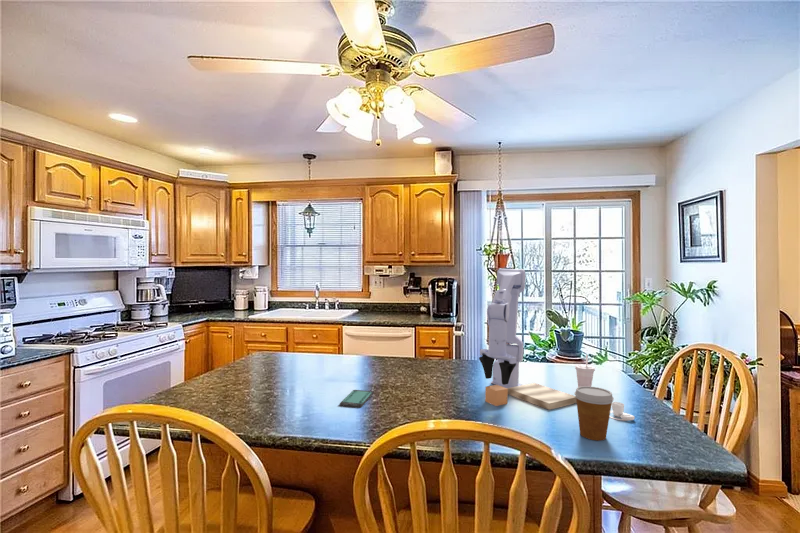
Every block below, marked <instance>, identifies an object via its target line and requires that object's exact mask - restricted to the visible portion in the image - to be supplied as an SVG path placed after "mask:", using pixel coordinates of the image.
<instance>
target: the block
mask: <svg viewBox="0 0 800 533" xmlns="http://www.w3.org/2000/svg"><path fill="white" fill-rule="evenodd" d="M484 393H485V396H484V398H485V399H484V400H485V402H486V403H488V404H490V405H492V406H495V407H499V406H503V405H507V404H508V396H509V394H508V389H507V388H504V387H502V386H499V385H496V384H492V385H489V386H485V392H484Z"/></svg>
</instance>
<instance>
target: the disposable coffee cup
mask: <svg viewBox="0 0 800 533" xmlns="http://www.w3.org/2000/svg"><path fill="white" fill-rule="evenodd" d="M574 396H576V400H577V403H576V409H577V416H578V417H577V419H578V428H579V434H580V435H581V437H583V438H585V439H588V440H592V441H604V440H606V439H607V432H608V428H609V421H610V418H609V416H611V413H610V411H612V406H611V404H612V403H613V402H614V400H615V399H614V397H613V393H612V392H611V391H610V390H608V389H605V388H602V387H596V386H591V387H590V386H582V387H578V386H577V387H576V389H575V392H574Z"/></svg>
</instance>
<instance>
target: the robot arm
mask: <svg viewBox="0 0 800 533" xmlns="http://www.w3.org/2000/svg"><path fill="white" fill-rule="evenodd" d="M496 272H497V273H496V282H497V284H498V288H499V289H498V290H496V291H495V293H494V296H493V299H492V302H491V303H490V304H487V308H486V317H487V325H488V349H485V348H481V349H479V357H478V359H479V361H480V364H481V365H482V369H483V373H484V377H485V379H489V380H490V379H492V380H491V381H490V383H491V384H492V385H499V386H502V387H504V388H510V387H516V386H521V385H523V384H521V383H519V382H520V381H519V376H520V370H519V369H520V363H521V362H523V360H524V342H523V340H521V339H520V338H519V336H517V327H518V326H517V322H518V308H519V297H520V294H521V293H523V292H525V290H526V289H525V288H526V270H525V269H524V268H521V269H520V268H501V267H500V268H499V269H497V271H496ZM495 359H496V360H495Z"/></svg>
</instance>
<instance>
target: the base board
mask: <svg viewBox="0 0 800 533" xmlns="http://www.w3.org/2000/svg"><path fill="white" fill-rule="evenodd" d="M507 389H508V396H510V397H511V396H512V397H514V398H517V399H519V400H522V401H525V402H527V403H530V404H533V405H536V406H538V407H541V408H543V409H546V410H554V409H558V408H561V407H562V408H563V407H566V406H569V405H574V403H575V404H577V400H576V396H575V395H574V394H570V393H567V392H563V391H560V390H558V389H554V388H551V387H549V386H545V385H543V384H538V383H535V382H532V383H528V384H527V383H525V384H522V385H521V386H516V387H510V388H507Z"/></svg>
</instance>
